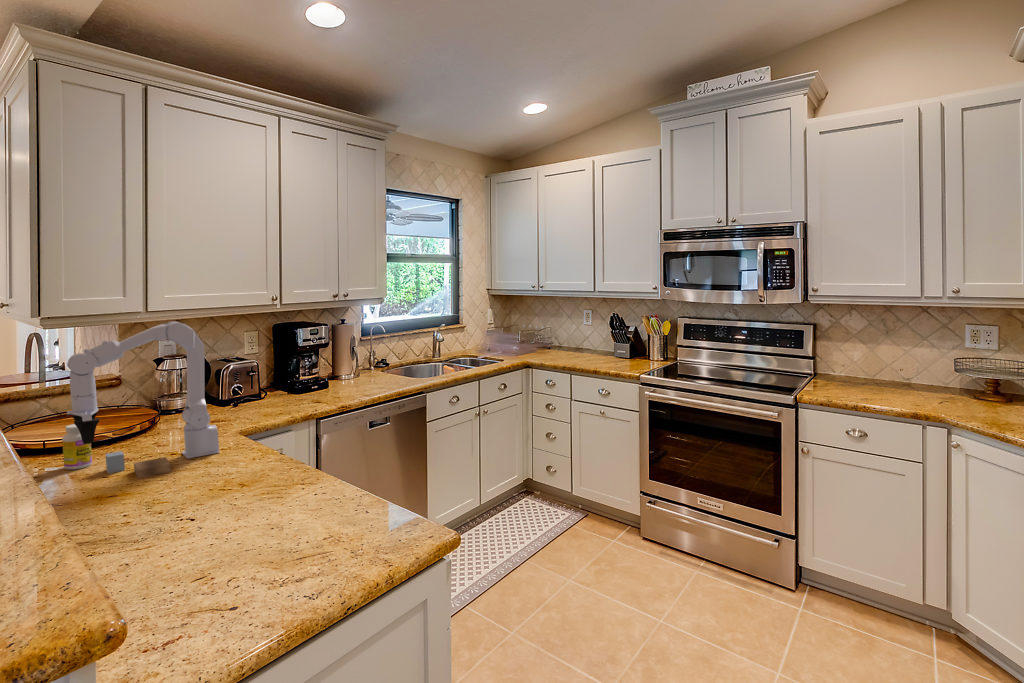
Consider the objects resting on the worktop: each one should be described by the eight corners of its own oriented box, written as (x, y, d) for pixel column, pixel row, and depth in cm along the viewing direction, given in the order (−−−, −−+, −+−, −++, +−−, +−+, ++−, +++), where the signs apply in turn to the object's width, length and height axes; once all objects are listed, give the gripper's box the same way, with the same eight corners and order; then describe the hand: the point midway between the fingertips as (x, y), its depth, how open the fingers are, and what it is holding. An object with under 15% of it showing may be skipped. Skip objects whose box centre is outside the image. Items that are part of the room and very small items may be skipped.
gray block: (123, 466, 160) (121, 451, 160) (124, 470, 157) (123, 454, 157) (106, 469, 158) (105, 453, 157) (108, 473, 155) (106, 457, 154)
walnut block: (166, 466, 162) (165, 457, 162) (171, 473, 156) (170, 463, 156) (134, 472, 156) (133, 462, 156) (138, 480, 151) (138, 469, 150)
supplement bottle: (76, 471, 156) (73, 429, 155) (58, 469, 157) (54, 427, 156) (98, 463, 163) (95, 423, 161) (80, 462, 164) (77, 422, 163)
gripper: (64, 392, 154) (68, 437, 156) (66, 400, 143) (70, 449, 145) (95, 389, 159) (98, 433, 160) (99, 397, 148) (103, 444, 150)
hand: (87, 440), depth 153 cm, fingers open, 7 cm apart
